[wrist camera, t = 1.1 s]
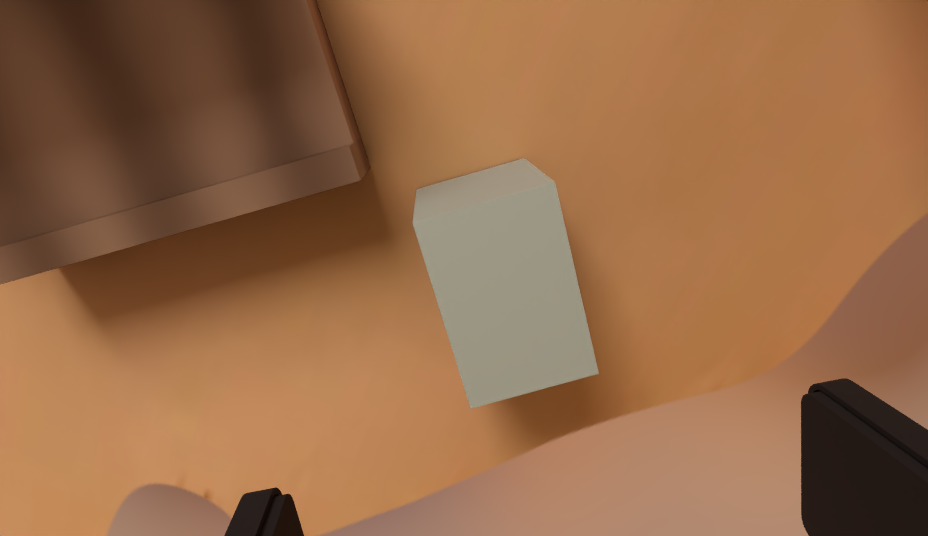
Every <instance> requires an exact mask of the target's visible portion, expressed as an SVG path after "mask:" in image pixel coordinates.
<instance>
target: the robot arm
mask: <svg viewBox="0 0 928 536" xmlns="http://www.w3.org/2000/svg"><path fill="white" fill-rule="evenodd" d="M801 489H802V490H801V491H802V493H801V513H802V514H801V515H802V521H803V525H804V527H805V529H806V531H807V533H808V535H809V536H928V430H927V429H925V428H924V427H922V426H921V425H919V424H918V423H916V422H915V421H913V420H911V419H910V418H908V417H907V416H905V415H904V414H902V413H901V412H899V411H898V410H896V409H895V408H893V407H891V406H890V405H888V404H887V403H885V402H884V401H882V400H881V399H879V398H878V397H876V396H874V395H873V394H871V393H870V392H868V391H867V390H865V389H864V388H862V387H860V386H859V385H857V384H856V383H854V382H853V381H851V380H849V379H838V380H833V381H827V382H823V383H817V384H813V385H812V386H810V388H809V391H808V394H805V395H803V397H802V401H801ZM225 536H304V534H303V531H302V528H301V524H300V521H299V518H298V514H297V511H296V508H295V504H294V501H293V498H292V496H291V495H290V494H285V495H282V493H281V491H280V490H279V489H278V488H271V489H266V490H261V491H256V492H251V493H246V494H244V495H243V496H242V498H241V500H240V502H239V504H238V506H237V509H236V511H235V513H234V515H233V518H232V520H231V522H230V525H229V527H228V529H227V531H226V533H225Z"/></svg>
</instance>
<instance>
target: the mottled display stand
mask: <svg viewBox="0 0 928 536" xmlns="http://www.w3.org/2000/svg"><path fill="white" fill-rule="evenodd" d="M369 168H370V164H369V161H368V158H367V155H366V152H365V149H364V146H363V143H362V140H361V137H360V134H359V131H358V128H357V125H356V121H355V118H354V115H353V112H352V109H351V106H350V103H349V100H348V97H347V94H346V91H345V88H344V85H343V82H342V79H341V76H340V73H339V69H338V66H337V63H336V60H335V57H334V54H333V51H332V48H331V45H330V42H329V39H328V36H327V33H326V30H325V27H324V24H323V20H322V17H321V14H320V11H319V8H318V5H317V2H316V0H0V284H4V283H7V282H10V281H14V280H17V279H21V278H24V277H28V276H31V275H35V274H38V273H42V272H45V271H49V270H52V269H56V268H59V267H63V266H66V265H69V264H73V263H76V262H80V261H83V260H87V259H90V258H94V257H97V256H101V255H104V254H108V253H111V252H115V251H118V250H122V249H125V248H129V247H132V246H135V245H139V244H142V243H146V242H149V241H153V240H156V239H160V238H163V237H167V236H170V235H174V234H177V233H181V232H184V231H188V230H191V229H194V228H198V227H201V226H205V225H208V224H212V223H215V222H219V221H222V220H226V219H229V218H233V217H236V216H240V215H243V214H247V213H250V212H253V211H257V210H260V209H264V208H267V207H271V206H274V205H278V204H281V203H285V202H288V201H292V200H295V199H299V198H302V197H306V196H309V195H312V194H316V193H319V192H323V191H326V190H330V189H333V188H337V187H340V186H344V185H347V184H351V183H354V182H358V181H361V180H362V178H363V177H364V175H365V174H366V173H367V171H368V170H369Z"/></svg>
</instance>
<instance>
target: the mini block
mask: <svg viewBox="0 0 928 536" xmlns="http://www.w3.org/2000/svg"><path fill="white" fill-rule="evenodd" d="M413 226H414V229H415V233H416V236H417V239H418V242H419V245H420V248H421V252H422V255H423V258H424V261H425V264H426V268H427V271H428V274H429V277H430V280H431V284H432V287H433V290H434V293H435V296H436V299H437V303H438V306H439V309H440V312H441V315H442V319H443V322H444V325H445V328H446V331H447V334H448V338H449V341H450V344H451V347H452V350H453V354H454V357H455V360H456V363H457V366H458V370H459V373H460V376H461V379H462V382H463V385H464V389H465V392H466V395H467V398H468V401H469V405H470V408H471V409H472V408H475V407H479V406H483V405H486V404H490V403H494V402H497V401H501V400H505V399H508V398H512V397H516V396H519V395H523V394H526V393H530V392H534V391H537V390H541V389H545V388H548V387H552V386H556V385H559V384H563V383H567V382H570V381H574V380H578V379H581V378H585V377H588V376H592V375H596V374H599V372H598V368H597V363H596V359H595V355H594V350H593V346H592V342H591V337H590V333H589V328H588V324H587V320H586V315H585V311H584V307H583V302H582V298H581V294H580V289H579V285H578V280H577V276H576V272H575V267H574V263H573V259H572V254H571V250H570V245H569V241H568V237H567V232H566V228H565V224H564V219H563V215H562V211H561V206H560V202H559V197H558V193H557V189H556V184H555V182H554V181H553V180H552V179H550V178H549V177H548V176H546V175H545V174H544V173H543V172H541V171H540V170H539V169H538V168H536V167H535V166H534V165H533V164H531V163H530V162H529V161H528V160H526V159H525V158H523V159H520V160H516V161H513V162H509V163H506V164H502V165H499V166H495V167H492V168H488V169H485V170H481V171H478V172H474V173H471V174H467V175H464V176H460V177H457V178H453V179H450V180H446V181H443V182H439V183H436V184H432V185H429V186H426V187H422V188H419V189H417V191H416V199H415V207H414V215H413Z"/></svg>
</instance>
